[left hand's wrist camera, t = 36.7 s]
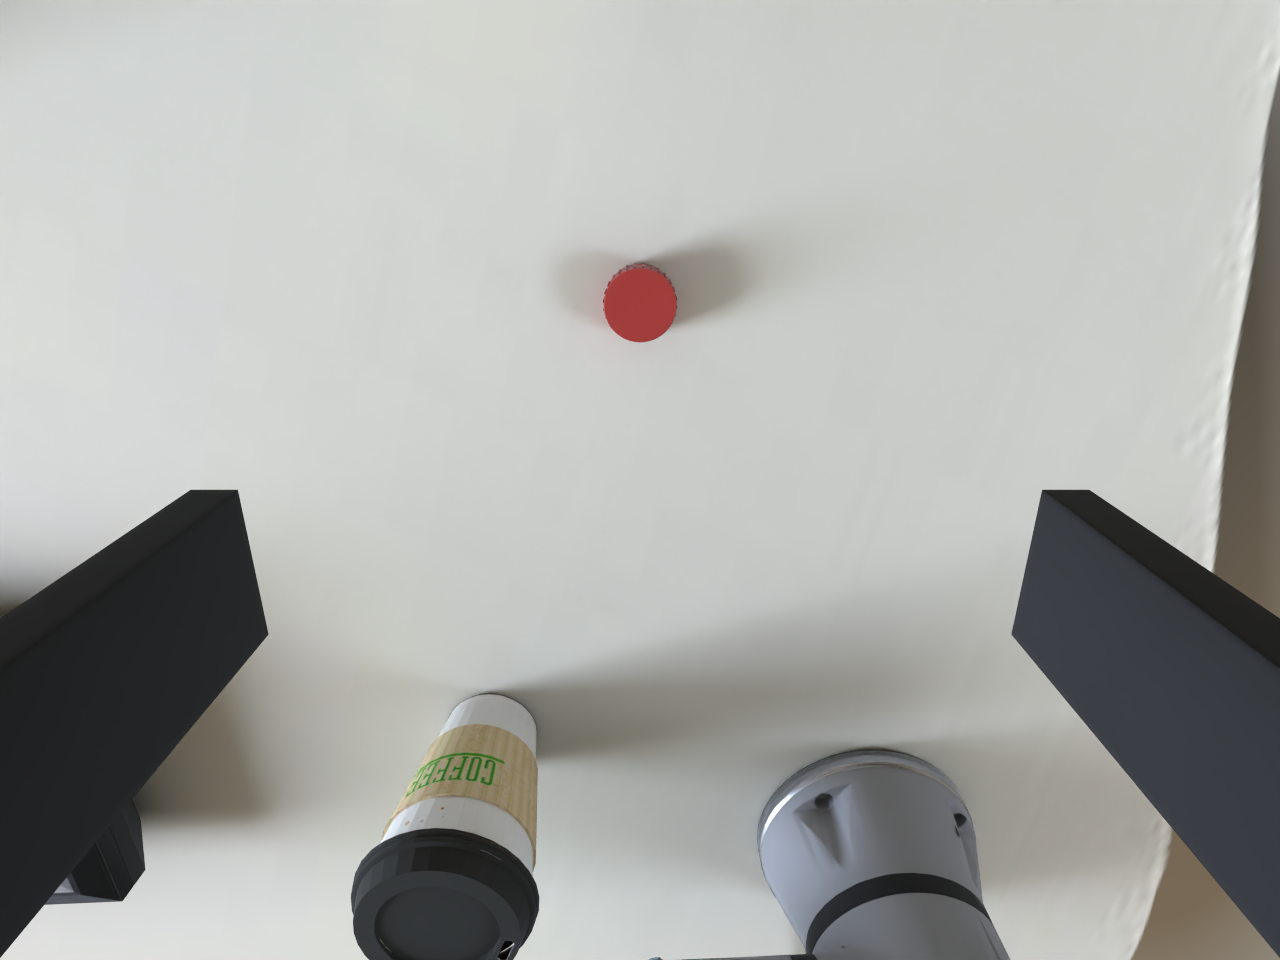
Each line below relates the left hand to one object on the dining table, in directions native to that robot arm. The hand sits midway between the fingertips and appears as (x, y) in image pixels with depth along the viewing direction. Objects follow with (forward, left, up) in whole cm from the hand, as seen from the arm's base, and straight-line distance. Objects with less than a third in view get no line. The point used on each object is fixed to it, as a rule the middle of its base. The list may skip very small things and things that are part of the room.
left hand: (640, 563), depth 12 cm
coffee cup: (-31, +5, -31) cm, 44 cm away
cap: (0, 0, -29) cm, 29 cm away
